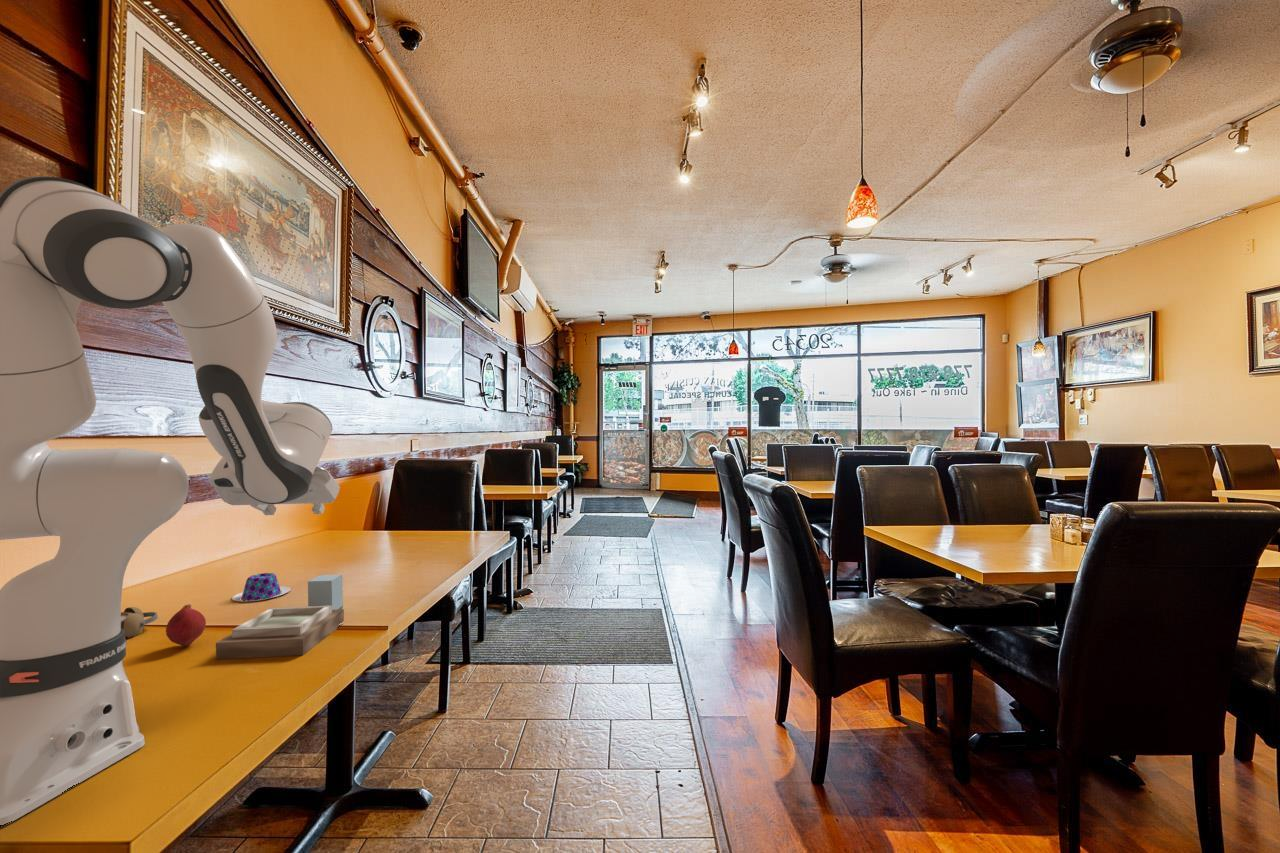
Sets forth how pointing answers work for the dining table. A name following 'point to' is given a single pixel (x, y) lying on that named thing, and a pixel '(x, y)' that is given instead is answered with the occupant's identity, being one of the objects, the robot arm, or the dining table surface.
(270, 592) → the purple and white hat
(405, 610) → the dining table surface
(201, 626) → the onion
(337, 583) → the light blue-grey block
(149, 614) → the alarm clock
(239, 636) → the tray
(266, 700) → the dining table surface
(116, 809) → the dining table surface
